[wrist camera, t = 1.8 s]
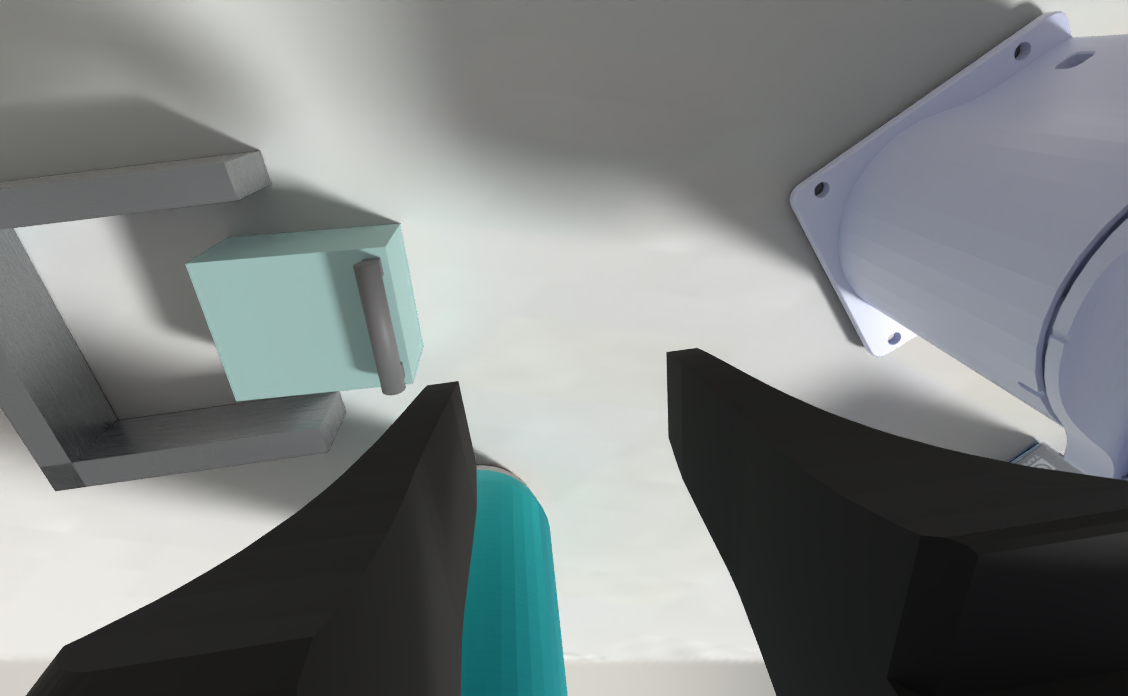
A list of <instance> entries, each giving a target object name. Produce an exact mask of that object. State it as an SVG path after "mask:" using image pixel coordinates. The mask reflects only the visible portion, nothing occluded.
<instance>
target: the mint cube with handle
mask: <svg viewBox="0 0 1128 696" xmlns="http://www.w3.org/2000/svg"><path fill="white" fill-rule="evenodd" d="M185 265H186V268H187V270H188V273H189V276H190V278H191V281H192V284H193V286H194V289H195V292H196V294H197V297H198V300H199V303H200V305H201V308H202V311H203V313H204V316H205V319H206V321H207V324H208V327H209V329H210V332H211V335H212V338H213V340H214V343H215V346H216V348H217V351H218V354H219V356H220V359H221V362H222V364H223V367H224V370H225V372H226V375H227V378H228V381H229V383H230V386H231V389H232V391H233V394H234V397H235V399H236V401H245V400H255V399H265V398H275V397H285V396H294V395H304V394H314V393H324V392H334V391H344V390H354V389H363V388H373V387H381V388H382V392H383V394H385V395H395V394H399V393H401V392H402V391H404V390H405V388H406V386H405V384H413V383H414V379H415V375H416V372H417V368H418V364H419V361H420V357H421V353H422V350H423V340H422V335H421V330H420V324H419V319H418V314H417V308H416V303H415V298H414V292H413V287H412V282H411V276H410V271H409V266H408V261H407V255H406V250H405V245H404V239H403V234H402V229H401V223H398V224H386V225H373V226H361V227H349V228H336V229H324V230H312V231H299V232H287V233H275V234H262V235H250V236H238V237H228V238H226V239H225V240H223V241H221V242H220V243H218V244H216V245H215V246H213V247H212V248H210V249H208V250H207V251H205V252H203V253H202V254H200V255H199V256H197V257H195V258H194V259H192V260H190V261H189V262H187V263H186V264H185Z"/></svg>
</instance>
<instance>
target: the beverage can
mask: <svg viewBox="0 0 1128 696" xmlns="http://www.w3.org/2000/svg"><path fill="white" fill-rule="evenodd" d="M461 696H567V687H566V677H565V667H564V658H563V648H562V639H561V629H560V620H559V611H558V601H557V592H556V582H555V573H554V563H553V554H552V544H551V535H550V527H549V523H548V519H547V516H546V514H545V512H544V510H543V508H542V507H541V505H540V504H539V502H538V501H537V499H536V497H535V496H534V495H533V493H532V492H531V491H530V489H529V488H528V487H527V485H526V484H525V483H524V482H523V481H522V480H521V479H520V478H519V477H517V476H516V475H514V474H513V473H511V472H508V471H506V470H504V469H501V468H498V467H493V466H484V465H477V513H476V522H475V530H474V538H473V547H472V555H471V562H470V570H469V578H468V586H467V594H466V602H465V610H464V621H463V633H462V666H461Z"/></svg>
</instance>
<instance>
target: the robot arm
mask: <svg viewBox="0 0 1128 696" xmlns="http://www.w3.org/2000/svg"><path fill="white" fill-rule="evenodd" d="M1018 45H1020V53H1019V55H1018V57H1017V58H1016V59H1015V57H1014V52H1015V50H1016V48H1017V47H1018ZM821 182H823V185H824V188H823V190H822V192H821V193H820V194H818V195H816V196H815V193H814V190H815V187H816V186H817V185H818V184H819V183H821ZM790 205H791V207H792V209H793V211H794V213H795V215H796V217H797V219H798V221H799V223H800V224H801V226H802V228H803V230H804V232H805V234H806V236H807V238H808V240H809V242H810V244H811V245H812V247H813V249H814V251H815V253H816V255H817V257H818V259H819V261H820V263H821V265H822V267H823V268H824V270H825V272H826V274H827V276H828V278H829V280H830V282H831V284H832V286H833V288H834V290H835V291H836V293H837V295H838V297H839V299H840V301H841V303H842V305H843V307H844V309H845V311H846V312H847V314H848V316H849V318H850V320H851V322H852V324H853V326H854V328H855V330H856V332H857V334H858V335H859V337H860V339H861V341H862V343H863V345H864V347H865V349H866V350H867V351H868V352H869V353H870V354H871V355H873V356H876V357H882V356H884V355H886V354H888V353H890V352H891V351H893V350H895V349H896V348H898V347H899V346H901V345H903V344H904V343H906V342H908V341H909V340H911V339H912V338H914V337H916V336H917V335H918V336H920V337H921V338H923V339H925V340H926V341H928V342H929V343H931V344H932V345H934V346H936V347H937V348H939V349H940V350H942V351H944V352H945V353H947V354H948V355H950V356H951V357H953V358H955V359H956V360H958V361H959V362H961V363H963V364H964V365H966V366H967V367H969V368H970V369H972V370H974V371H975V372H977V373H978V374H980V375H982V376H983V377H985V378H986V379H988V380H989V381H991V382H993V383H994V384H996V385H997V386H999V387H1001V388H1002V389H1004V390H1005V391H1007V392H1008V393H1010V394H1012V395H1013V396H1015V397H1016V398H1018V399H1020V400H1021V401H1023V402H1024V403H1026V404H1027V405H1029V406H1031V407H1032V408H1034V409H1035V410H1037V411H1039V412H1040V413H1042V414H1043V415H1045V416H1046V417H1048V418H1050V419H1051V420H1053V421H1054V422H1056V423H1058V424H1059V425H1061V426H1062V427H1064V429H1065V431H1066V436H1067V446H1066V450H1065V454H1064V460H1065V461H1067V462H1068V463H1070V464H1071V465H1072V466H1074V467H1075V468H1077V469H1078V470H1080V471H1081V472H1083V473H1084V474H1079V473H1072V472H1065V471H1058V470H1051V469H1044V468H1037V467H1031V466H1025V465H1019V464H1014V463H1009V462H1004V461H999V460H994V459H989V458H984V457H979V456H974V455H970V454H965V453H961V452H957V451H952V450H948V449H944V448H940V447H936V446H932V445H928V444H925V443H921V442H918V441H914V440H910V439H907V438H903V437H899V436H896V435H892V434H889V433H886V432H883V431H880V430H876V429H873V428H870V427H867V426H865V425H862V424H859V423H856V422H853V421H851V420H848V419H845V418H842V417H839V416H837V415H834V414H832V413H829V412H827V411H824V410H822V409H819V408H817V407H815V406H812V405H810V404H808V403H806V402H803V401H801V400H799V399H797V398H794V397H792V396H790V395H788V394H786V393H784V392H782V391H779V390H777V389H775V388H773V387H771V386H769V385H767V384H765V383H763V382H761V381H760V380H758V379H756V378H754V377H752V376H750V375H748V374H746V373H744V372H742V371H741V370H739V369H737V368H735V367H733V366H731V365H730V364H728V363H726V362H724V361H722V360H720V359H718V358H717V357H715V356H713V355H711V354H709V353H707V352H705V351H703V350H700V349H698V348H693V349H686V350H679V351H672V352H667V392H668V432H669V440H670V443H671V446H672V449H673V452H674V455H675V458H676V461H677V464H678V467H679V470H680V473H681V476H682V479H683V481H684V483H685V485H686V487H687V489H688V491H689V493H690V495H691V497H692V499H693V501H694V503H695V505H696V507H697V509H698V511H699V513H700V515H701V517H702V519H703V521H704V523H705V525H706V527H707V529H708V531H709V533H710V535H711V537H712V539H713V541H714V543H715V545H716V547H717V549H718V551H719V553H720V555H721V557H722V559H723V561H724V563H725V565H726V567H727V569H728V571H729V573H730V575H731V577H732V579H733V582H734V584H735V586H736V588H737V591H738V593H739V595H740V598H741V601H742V603H743V606H744V608H745V611H746V614H747V616H748V619H749V622H750V624H751V627H752V630H753V632H754V635H755V637H756V640H757V643H758V645H759V648H760V651H761V654H762V657H763V659H764V662H765V665H766V668H767V670H768V673H769V676H770V679H771V682H772V684H773V687H774V690H775V692H776V696H1128V34H1124V35H1108V36H1091V37H1075V38H1073V37H1072V33H1071V29H1070V25H1069V20H1068V18H1067V16H1066V14H1065V13H1063V12H1061V11H1060V12H1048V13H1045V14H1043V15H1040V16H1039V17H1038V18H1036V19H1035V20H1033V21H1032V22H1030V23H1029V24H1028V25H1026V26H1025V27H1023V28H1022V29H1020V30H1019V31H1018V32H1016V33H1015V34H1013V35H1012V36H1010V37H1009V38H1007V39H1006V40H1005V41H1003V42H1002V43H1000V44H999V45H997V46H996V47H995V48H993V49H992V50H990V51H989V52H987V53H986V54H985V55H983V56H982V57H980V58H979V59H977V60H976V61H975V62H973V63H972V64H970V65H969V66H967V67H966V68H965V69H963V70H962V71H960V72H959V73H957V74H956V75H954V76H953V77H952V78H950V79H949V80H947V81H946V82H944V83H943V84H942V85H940V86H939V87H937V88H936V89H934V90H933V91H932V92H930V93H929V94H927V95H926V96H924V97H923V98H922V99H920V100H919V101H917V102H916V103H914V104H913V105H912V106H910V107H909V108H907V109H906V110H904V111H903V112H902V113H900V114H899V115H897V116H896V117H894V118H893V119H891V120H890V121H889V122H887V123H886V124H884V125H883V126H881V127H880V128H879V129H877V130H876V131H874V132H873V133H871V134H870V135H869V136H867V137H866V138H864V139H863V140H861V141H860V142H859V143H857V144H856V145H854V146H853V147H851V148H850V149H849V150H847V151H846V152H844V153H843V154H841V155H840V156H838V157H837V158H836V159H834V160H833V161H831V162H830V163H828V164H827V165H826V166H824V167H823V168H821V169H820V170H818V171H817V172H816V173H814V174H813V175H811V176H810V177H808V178H807V179H806V180H804V181H803V182H801V183H800V184H798V185H797V186H796V187H795V188H794V189H793V191H792V193H791V195H790ZM893 333H895V334H894V336H893V337H892V338H891V339H890V340H888V338H889V336H890V335H891V334H893ZM476 513H477V465H476V461H475V456H474V451H473V447H472V442H471V438H470V433H469V428H468V424H467V419H466V414H465V410H464V405H463V401H462V396H461V391H460V387H459V382H458V381H456V382H449V383H442V384H435V385H427V386H426V387H425V388H424V389H423V390H422V391H421V392H420V394H419V395H418V396H417V397H416V398H415V399H414V400H413V402H412V403H411V404H410V405H409V406H408V407H407V409H406V410H405V411H404V412H403V413H402V414H401V415H400V416H399V418H398V419H397V420H396V421H395V422H394V423H393V424H392V425H391V426H390V427H389V429H388V430H387V431H386V432H385V433H384V434H383V435H382V436H381V437H380V438H379V440H378V441H377V442H376V443H375V444H373V445H372V446H371V447H370V448H369V449H368V450H367V451H366V452H365V453H364V454H363V455H362V456H361V457H360V458H359V459H358V460H357V461H356V462H355V463H354V464H353V465H352V466H351V467H350V468H349V469H348V470H347V471H346V472H345V473H344V474H343V475H342V476H340V477H339V478H338V479H337V480H336V481H335V482H334V483H333V484H331V485H330V486H329V487H328V488H327V489H326V490H324V491H323V492H322V493H321V494H319V495H318V496H317V497H316V498H314V499H313V500H312V501H311V502H309V503H308V504H307V505H306V506H304V507H303V508H302V509H301V510H299V511H298V512H297V513H295V514H294V515H293V516H291V517H290V518H288V519H287V520H285V521H284V522H283V523H281V524H280V525H278V526H277V527H275V528H274V529H272V530H271V531H270V532H268V533H267V534H265V535H264V536H262V537H261V538H259V539H258V540H257V541H255V542H254V543H252V544H251V545H249V546H248V547H246V548H245V549H243V550H242V551H240V552H239V553H237V554H236V555H234V556H232V557H231V558H229V559H227V560H226V561H224V562H222V563H221V564H219V565H218V566H216V567H214V568H213V569H211V570H209V571H208V572H206V573H204V574H202V575H201V576H199V577H197V578H195V579H194V580H192V581H190V582H188V583H187V584H185V585H183V586H181V587H180V588H178V589H176V590H174V591H173V592H171V593H169V594H167V595H165V596H163V597H161V598H160V599H158V600H156V601H154V602H152V603H150V604H148V605H146V606H144V607H142V608H140V609H138V610H136V611H134V612H132V613H130V614H128V615H126V616H124V617H122V618H120V619H118V620H116V621H114V622H112V623H110V624H108V625H106V626H104V627H102V628H100V629H98V630H96V631H94V632H92V633H90V634H88V635H87V636H84V637H82V638H80V639H78V640H76V641H74V642H72V643H70V644H67V645H65V646H64V647H63V648H62V649H61V650H60V652H59V653H58V654H57V655H56V657H55V658H54V659H53V661H52V662H51V663H50V665H49V666H48V667H47V669H46V670H45V671H44V673H43V674H42V675H41V677H40V678H39V679H38V681H37V682H36V683H35V684H34V686H33V687H32V688H31V690H30V691H29V692H28V694H27V695H26V696H461V666H462V633H463V621H464V610H465V602H466V594H467V586H468V578H469V570H470V562H471V555H472V547H473V538H474V530H475V522H476Z"/></svg>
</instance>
